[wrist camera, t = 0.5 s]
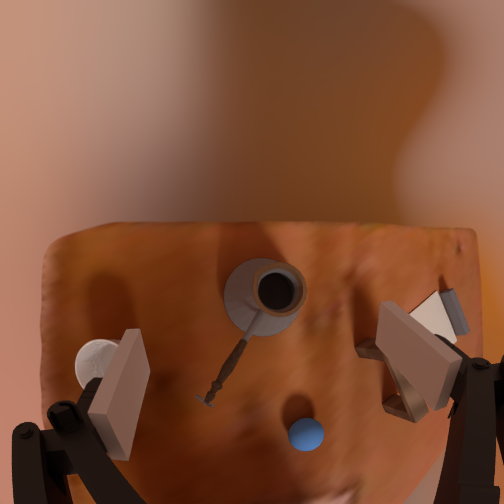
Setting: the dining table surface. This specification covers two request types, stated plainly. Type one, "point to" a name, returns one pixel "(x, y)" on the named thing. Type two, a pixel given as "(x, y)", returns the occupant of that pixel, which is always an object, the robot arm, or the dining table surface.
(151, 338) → the dining table surface
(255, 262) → the coffee pot
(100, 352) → the white cup
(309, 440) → the ball
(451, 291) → the stopper wall
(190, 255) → the dining table surface
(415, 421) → the bridge
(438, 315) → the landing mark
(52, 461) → the robot arm
